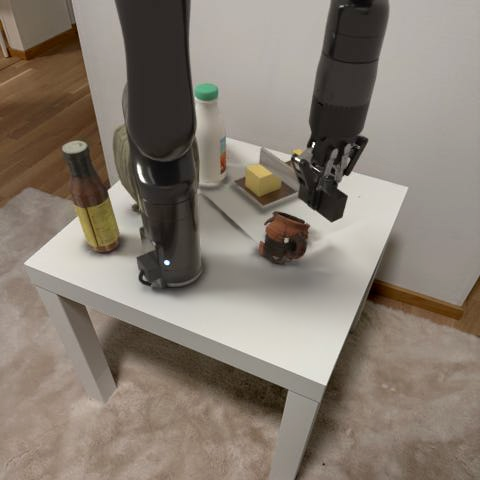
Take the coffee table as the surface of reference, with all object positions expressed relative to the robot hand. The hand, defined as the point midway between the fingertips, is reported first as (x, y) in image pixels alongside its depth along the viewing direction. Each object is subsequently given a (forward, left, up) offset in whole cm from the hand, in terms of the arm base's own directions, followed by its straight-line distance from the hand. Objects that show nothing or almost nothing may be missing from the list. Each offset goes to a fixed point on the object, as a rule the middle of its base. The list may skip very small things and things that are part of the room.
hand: (319, 204), depth 70 cm
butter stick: (+8, +25, -13) cm, 29 cm away
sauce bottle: (-28, +28, -15) cm, 42 cm away
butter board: (+13, +25, -15) cm, 32 cm away
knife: (0, +6, -1) cm, 6 cm away
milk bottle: (+1, +36, -15) cm, 39 cm away
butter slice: (+19, +25, -13) cm, 34 cm away
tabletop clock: (-13, +31, -15) cm, 36 cm away
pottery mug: (0, +7, -15) cm, 16 cm away
